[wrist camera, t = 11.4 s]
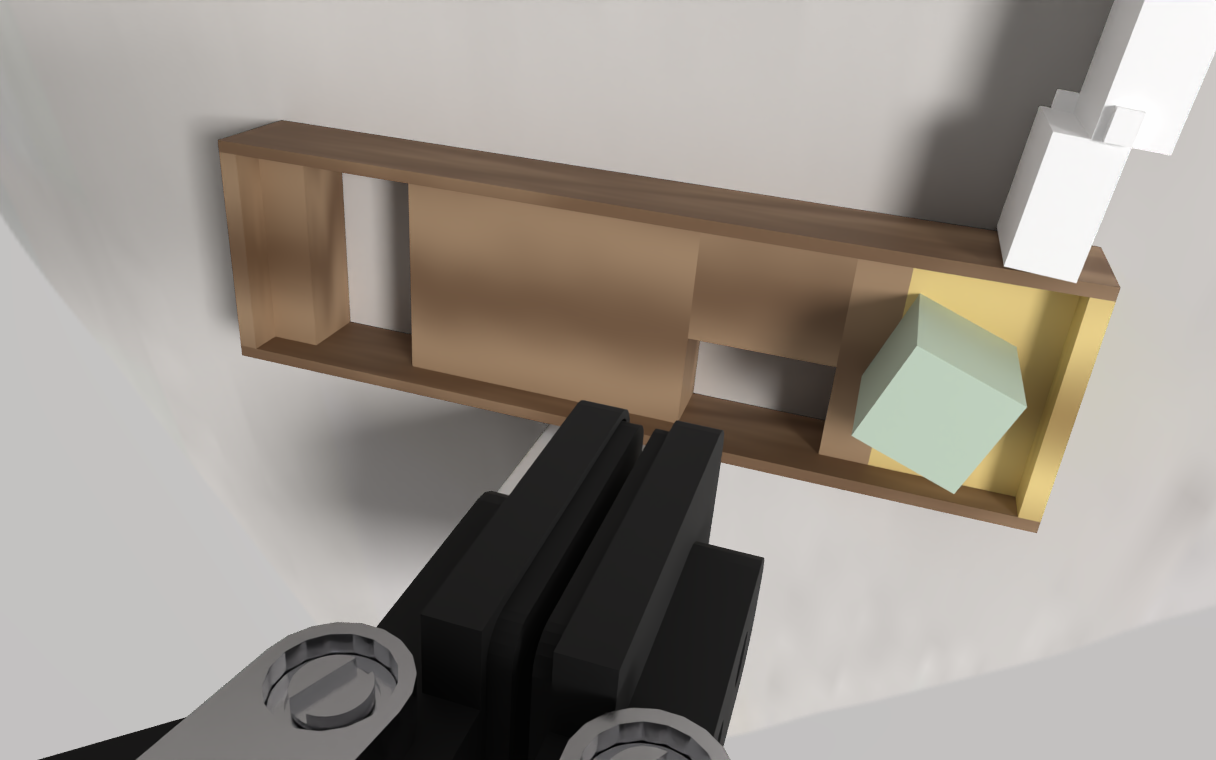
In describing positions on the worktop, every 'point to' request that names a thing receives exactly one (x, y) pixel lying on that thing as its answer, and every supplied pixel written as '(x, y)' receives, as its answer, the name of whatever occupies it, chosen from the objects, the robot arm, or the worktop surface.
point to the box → (647, 302)
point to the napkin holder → (1104, 130)
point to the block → (939, 394)
